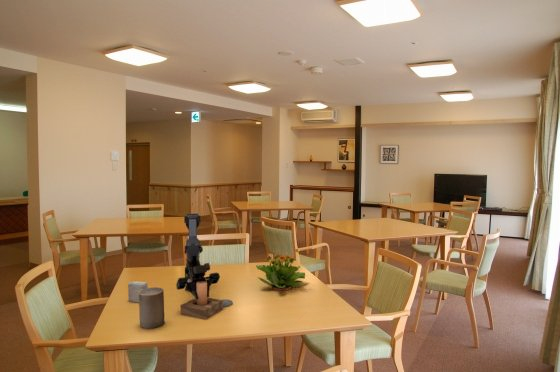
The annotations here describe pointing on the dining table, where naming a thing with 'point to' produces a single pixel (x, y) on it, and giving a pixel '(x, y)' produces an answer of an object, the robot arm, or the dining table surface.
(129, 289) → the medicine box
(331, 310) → the dining table surface
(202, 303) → the peg
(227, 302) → the coaster
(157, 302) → the pillar candle
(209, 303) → the pocket block
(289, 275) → the potted flower
